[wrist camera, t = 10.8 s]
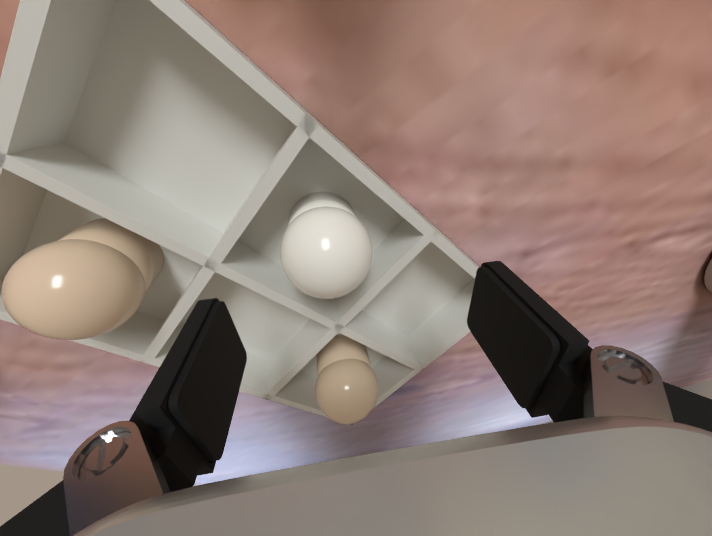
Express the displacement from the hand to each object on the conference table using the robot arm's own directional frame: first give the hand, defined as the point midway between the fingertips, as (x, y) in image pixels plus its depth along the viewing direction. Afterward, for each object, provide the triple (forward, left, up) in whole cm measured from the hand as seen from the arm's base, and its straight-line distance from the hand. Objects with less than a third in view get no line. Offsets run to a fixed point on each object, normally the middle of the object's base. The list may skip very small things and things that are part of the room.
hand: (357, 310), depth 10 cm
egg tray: (+1, +5, -8) cm, 10 cm away
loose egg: (+1, 0, -8) cm, 8 cm away
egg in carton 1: (+9, +9, -8) cm, 14 cm away
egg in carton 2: (-7, +9, -8) cm, 14 cm away
